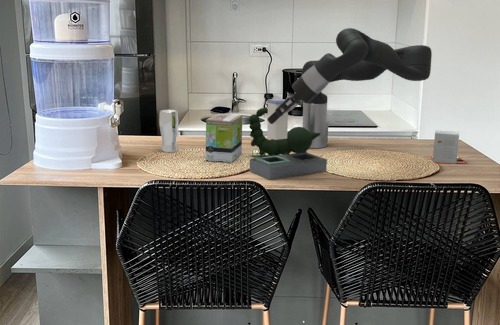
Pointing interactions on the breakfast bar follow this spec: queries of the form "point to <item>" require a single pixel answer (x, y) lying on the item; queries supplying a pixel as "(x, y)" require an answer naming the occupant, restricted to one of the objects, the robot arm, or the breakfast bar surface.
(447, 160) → the small box
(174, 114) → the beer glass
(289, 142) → the toy figurine
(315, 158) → the panel
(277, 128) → the plug
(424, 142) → the breakfast bar surface
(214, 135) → the tea box
